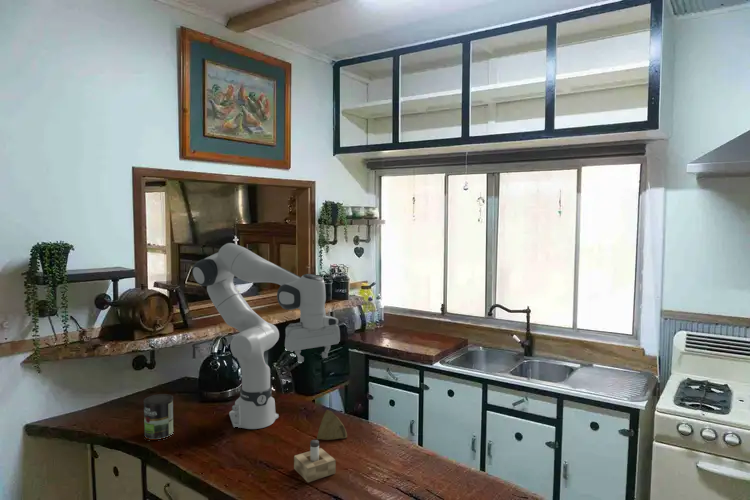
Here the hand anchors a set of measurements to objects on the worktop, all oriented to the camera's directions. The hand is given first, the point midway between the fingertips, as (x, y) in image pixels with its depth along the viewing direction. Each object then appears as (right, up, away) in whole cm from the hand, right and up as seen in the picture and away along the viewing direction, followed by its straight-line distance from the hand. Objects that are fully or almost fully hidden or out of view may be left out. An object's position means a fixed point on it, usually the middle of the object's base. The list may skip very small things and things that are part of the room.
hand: (312, 359), depth 174 cm
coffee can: (-60, -32, +14) cm, 69 cm away
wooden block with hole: (+2, -34, -12) cm, 36 cm away
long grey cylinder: (+2, -34, -12) cm, 36 cm away
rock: (+6, -33, +13) cm, 36 cm away
